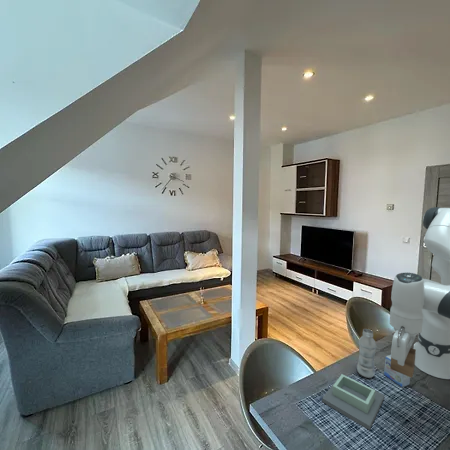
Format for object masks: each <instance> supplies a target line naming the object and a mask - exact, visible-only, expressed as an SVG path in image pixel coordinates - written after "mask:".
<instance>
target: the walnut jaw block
mask: <svg viewBox="0 0 450 450" xmlns="http://www.w3.org/2000/svg"><path fill="white" fill-rule="evenodd" d="M415 354H416V350H415V349H413V348H412V347H411V348H410V350H409V353H408V355H407V357H406V360H405V364H404V366H401V365H399V364H398V360H395V359H393V358H392V357H391V367H390V369H392V370H394V371H397V372H399V373H401V374H404V375H406V376H409V377H410V379H411V378H412V379H413V376H414V373H415V368H416V366H415Z"/></svg>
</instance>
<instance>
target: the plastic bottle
mask: <svg viewBox="0 0 450 450" xmlns="http://www.w3.org/2000/svg"><path fill="white" fill-rule="evenodd" d="M358 345H359V346H358V347H359V349H358V350H359V357H358V362H357V366H356V370H357V372H358V373H359V375H360V376H362V377H363V378H366V379H372V378H373V377H374V376H375V372H376V369H375V353H376V350H377V347H378V346H377V342H376V341H375V339H374V332H373V330H371V329H369V328H368V329H367V328H363V329H362V335H361V336H360V338H359V340H358Z"/></svg>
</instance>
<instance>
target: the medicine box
mask: <svg viewBox="0 0 450 450" xmlns="http://www.w3.org/2000/svg"><path fill="white" fill-rule="evenodd" d="M384 360H385V361H384V372H383V375H384V377H386V378H388V379H389V380H391V381H393V383H395V384H397V385H398V386H400V387H401V388H404V387H406V386H407V387H408V386H409V385H410V383H411V382H410V380H411V377H409V376H406V375H404V374H401V373H399V372H397V371H394V370H392V369H390V367H391V354H389V355H386V356H385V359H384Z"/></svg>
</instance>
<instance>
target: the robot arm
mask: <svg viewBox="0 0 450 450" xmlns="http://www.w3.org/2000/svg"><path fill="white" fill-rule="evenodd" d="M422 224H423V227H424V228H425V229H426V231H425V234H424V238H423V243H424V246H425V248H426V249H427V250H428V251H429V252H430V253H431V254H433V258H432V261H431V268H432V270H434V271H435V272H436V273H437V274H438V275H439V278H440V282H439V281H435V280H431V279H428V278H423V277H422V276H421V275H419V274H417V273H414V272H400V273H397V274H396V275H395V277H394V279H393V282H392V287H391V294H390V295H391V297H390V299H391V306H390V308H389V309H390V310H389V311H390V313H389V325H390V326H391V327H393V331H394V334H393V335H392V341H391V348H390V355H391V357H392V358H393V359H395V360H398V364H399V365H401V366H404V364H405V360H406V357H407V355H408V353H409V350H410V348H412V345H413V348H412V349H415V350H416V354H415V368H417V369H419V370H420V371H422V372H423V373H425V374H428V375H429V376H432V377H434V378H438V379H443V380H450V207H440V206H434V207H430V208H429V209H427V210H426V211H425V212H424V214H423V218H422ZM417 335H418V337H417ZM416 337H417V339H418V340H417V341H415V340H416ZM414 342H415V343H414ZM413 343H414V344H413Z"/></svg>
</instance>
